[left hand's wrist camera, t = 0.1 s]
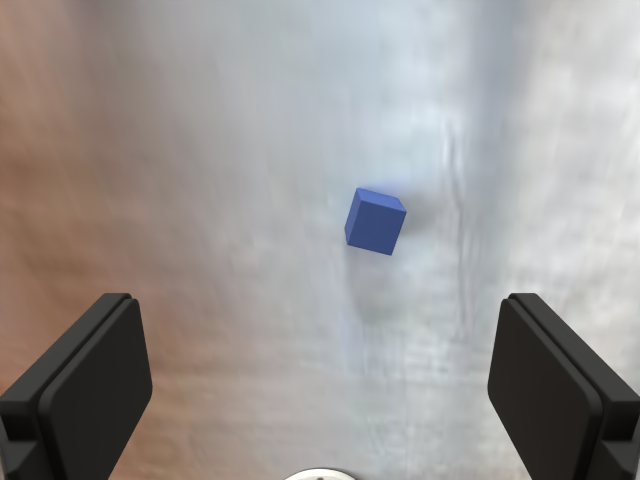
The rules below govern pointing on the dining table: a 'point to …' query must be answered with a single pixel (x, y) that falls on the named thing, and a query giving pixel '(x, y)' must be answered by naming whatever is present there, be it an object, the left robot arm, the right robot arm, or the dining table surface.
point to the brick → (374, 221)
